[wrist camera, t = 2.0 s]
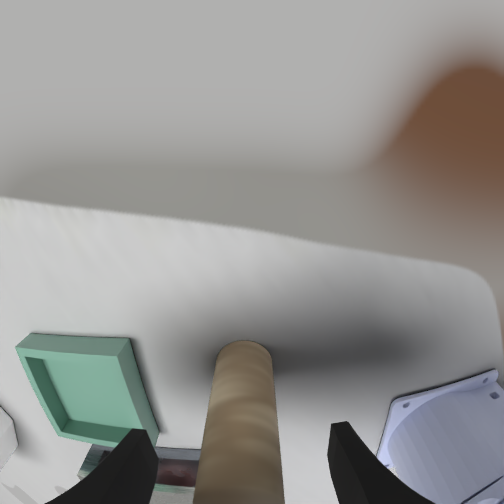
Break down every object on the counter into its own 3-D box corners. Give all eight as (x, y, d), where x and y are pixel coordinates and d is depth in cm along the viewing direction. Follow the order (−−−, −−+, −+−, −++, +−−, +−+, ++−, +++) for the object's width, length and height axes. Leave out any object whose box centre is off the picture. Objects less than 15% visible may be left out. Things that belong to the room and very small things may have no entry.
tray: (129, 338, 16) (117, 356, 14) (159, 432, 18) (153, 452, 16) (30, 333, 16) (14, 347, 14) (68, 420, 18) (58, 435, 16)
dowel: (270, 338, 16) (284, 484, 7) (273, 383, 17) (285, 522, 8) (212, 341, 16) (183, 485, 7) (220, 385, 17) (201, 523, 8)
